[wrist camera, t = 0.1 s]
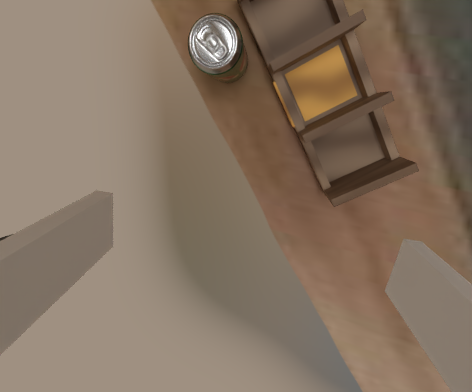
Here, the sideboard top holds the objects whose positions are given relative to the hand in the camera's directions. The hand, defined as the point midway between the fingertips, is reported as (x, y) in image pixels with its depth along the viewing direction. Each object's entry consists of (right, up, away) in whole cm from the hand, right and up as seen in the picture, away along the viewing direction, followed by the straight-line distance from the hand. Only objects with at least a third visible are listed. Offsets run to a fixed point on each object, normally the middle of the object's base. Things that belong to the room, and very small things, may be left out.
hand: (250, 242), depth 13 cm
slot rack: (+10, +16, +23) cm, 30 cm away
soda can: (-2, +19, +23) cm, 30 cm away
